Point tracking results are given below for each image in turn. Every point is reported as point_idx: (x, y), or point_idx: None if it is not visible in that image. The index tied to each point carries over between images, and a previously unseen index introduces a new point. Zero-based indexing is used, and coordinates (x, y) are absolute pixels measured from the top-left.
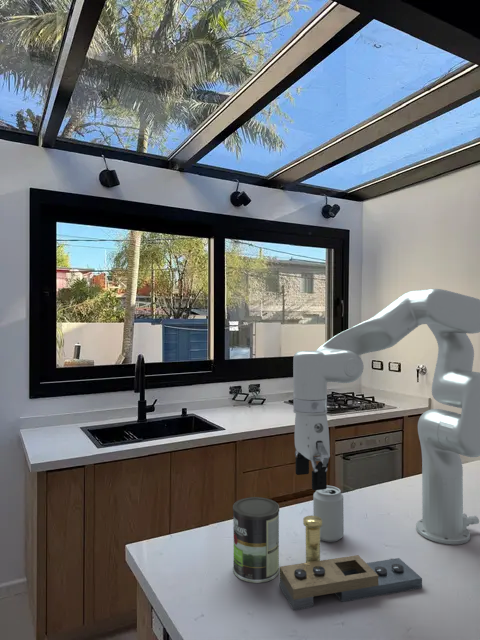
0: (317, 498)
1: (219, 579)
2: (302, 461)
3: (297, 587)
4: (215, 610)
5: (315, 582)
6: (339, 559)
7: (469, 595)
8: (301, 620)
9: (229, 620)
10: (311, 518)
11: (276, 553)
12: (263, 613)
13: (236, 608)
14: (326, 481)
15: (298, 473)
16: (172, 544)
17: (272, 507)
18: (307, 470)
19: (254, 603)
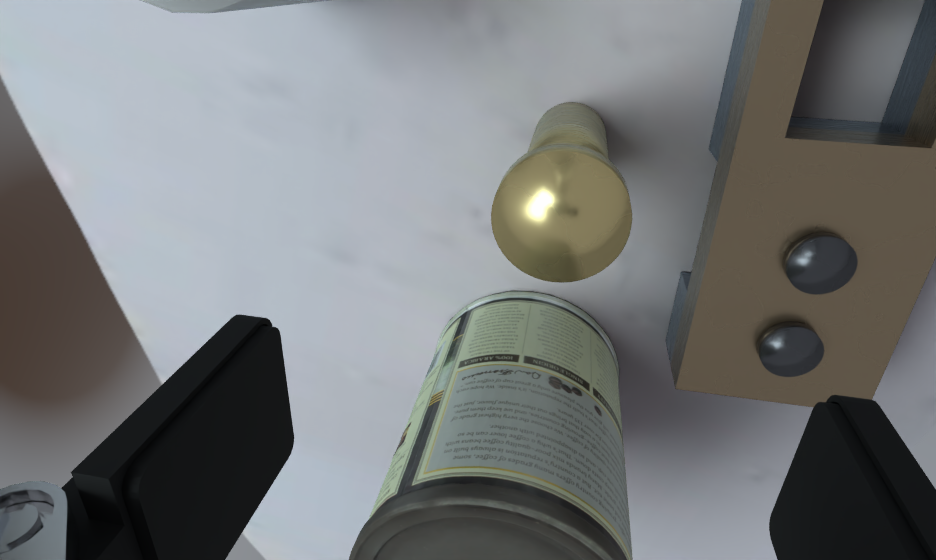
0: (219, 3)
1: None
2: (194, 525)
3: (863, 395)
4: (692, 541)
5: (882, 315)
6: (767, 88)
7: None
8: (899, 361)
9: (758, 529)
10: (539, 219)
11: (598, 380)
12: (785, 445)
13: (714, 497)
14: (921, 469)
15: (286, 443)
16: (291, 528)
17: (530, 543)
18: (258, 364)
19: (718, 448)
